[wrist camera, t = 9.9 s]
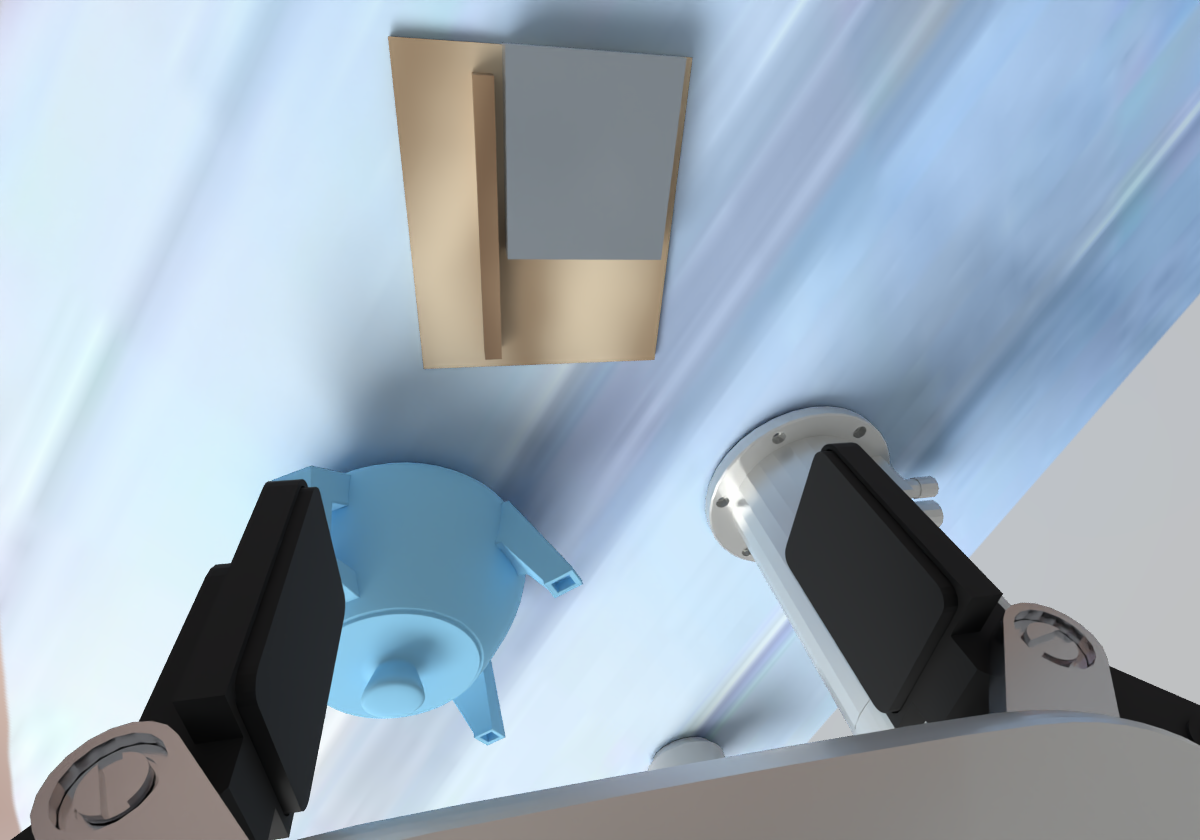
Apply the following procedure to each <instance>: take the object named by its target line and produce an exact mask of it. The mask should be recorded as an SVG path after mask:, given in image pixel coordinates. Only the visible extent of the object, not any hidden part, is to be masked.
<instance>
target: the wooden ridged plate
mask: <svg viewBox="0 0 1200 840" xmlns="http://www.w3.org/2000/svg"><path fill="white" fill-rule="evenodd" d="M388 41H389V50H390V59H391V69H392V78H393V87H394V97H395V106H396V115H397V125H398V134H399V143H400V152H401V162H402V171H403V180H404V190H405V199H406V208H407V218H408V227H409V236H410V246H411V255H412V264H413V274H414V283H415V292H416V302H417V311H418V320H419V330H420V339H421V348H422V357H423V367H424V369H434V368H460V367H485V366H510V365H536V364H561V363H587V362H612V361H637V360H654V358H655V350H656V342H657V335H658V327H659V319H660V311H661V303H662V295H663V287H664V279H665V271H666V263H667V255H668V247H669V239H670V232H671V224H672V216H673V208H674V200H675V192H676V184H677V176H678V168H679V160H680V152H681V144H682V136H683V129H684V121H685V113H686V105H687V97H688V89H689V81H690V73H691V65H692V58H691V57H685V58H687V60H686V67H685V75H684V83H683V91H682V99H681V107H680V114H679V122H678V130H677V138H676V146H675V154H674V162H673V169H672V177H671V185H670V193H669V201H668V209H667V216H666V224H665V232H664V240H663V248H662V256H661V260H549V259H508V258H507V254H506V250H505V211H504V143H503V76H502V44H492V43H478V42H463V41H449V40H435V39H420V38H406V37H392V36H388ZM678 57H679V56H678Z"/></svg>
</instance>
